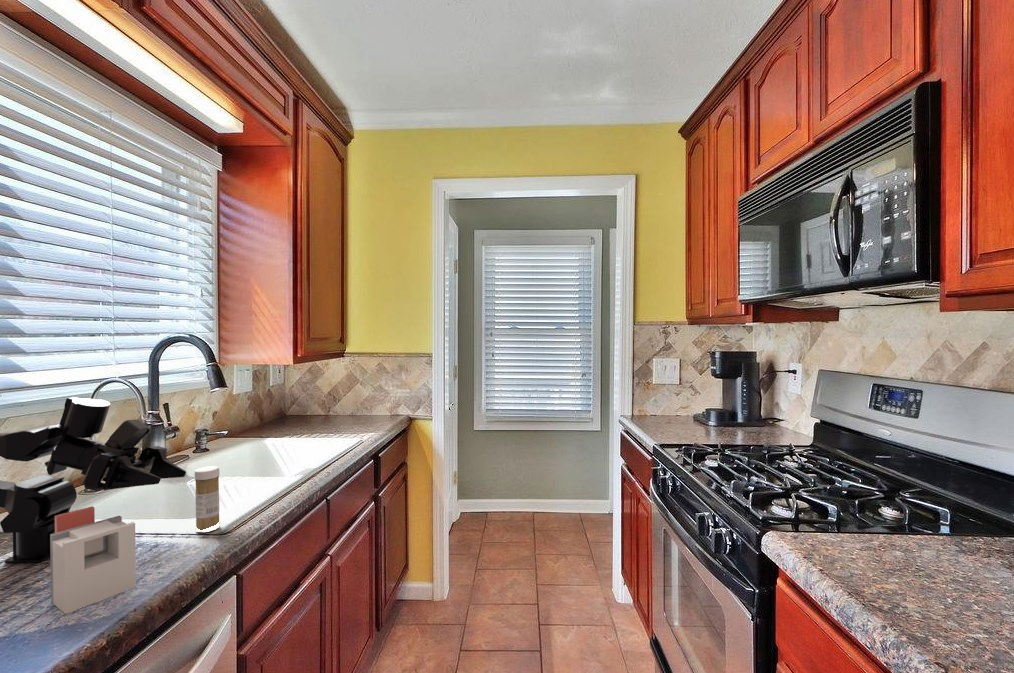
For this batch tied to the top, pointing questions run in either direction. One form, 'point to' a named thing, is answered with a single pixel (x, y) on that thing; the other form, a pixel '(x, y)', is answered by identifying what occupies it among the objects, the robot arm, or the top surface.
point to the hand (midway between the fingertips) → (173, 477)
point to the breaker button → (77, 520)
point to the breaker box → (92, 563)
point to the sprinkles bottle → (207, 496)
